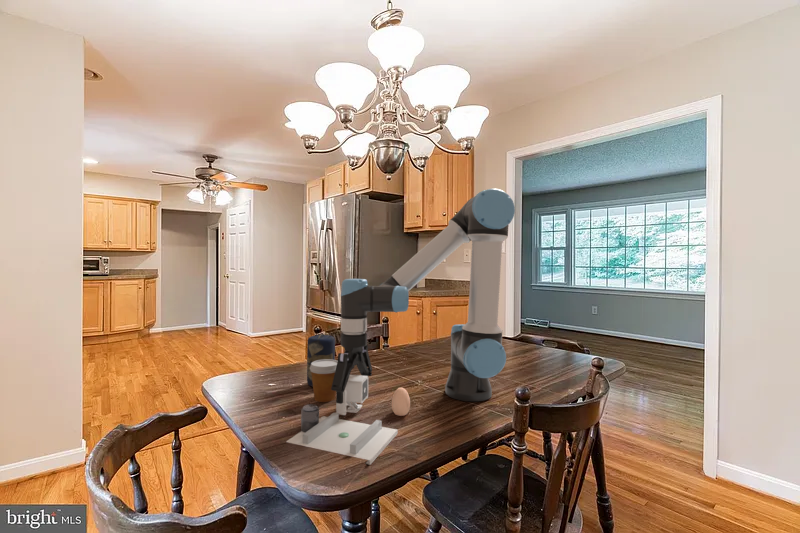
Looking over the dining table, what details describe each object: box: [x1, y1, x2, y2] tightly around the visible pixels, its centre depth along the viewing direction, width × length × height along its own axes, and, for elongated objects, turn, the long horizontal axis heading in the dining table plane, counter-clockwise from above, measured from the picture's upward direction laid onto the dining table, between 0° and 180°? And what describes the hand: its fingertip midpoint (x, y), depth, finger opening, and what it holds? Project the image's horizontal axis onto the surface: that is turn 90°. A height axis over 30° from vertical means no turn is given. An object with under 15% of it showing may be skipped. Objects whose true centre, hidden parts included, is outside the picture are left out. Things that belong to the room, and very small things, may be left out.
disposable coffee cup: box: [310, 359, 338, 403], centre depth 118 cm, size 10×10×12 cm
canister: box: [306, 333, 336, 388], centre depth 133 cm, size 10×10×18 cm
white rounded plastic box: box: [345, 374, 369, 414], centre depth 110 cm, size 6×7×10 cm
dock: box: [285, 412, 399, 466], centre depth 93 cm, size 22×16×3 cm
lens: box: [300, 403, 320, 433], centre depth 96 cm, size 4×4×6 cm
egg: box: [391, 387, 411, 417], centre depth 106 cm, size 5×5×8 cm
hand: (353, 405), depth 110 cm, fingers open, 13 cm apart
